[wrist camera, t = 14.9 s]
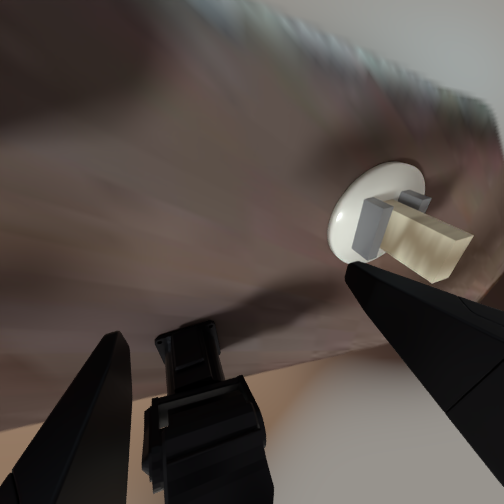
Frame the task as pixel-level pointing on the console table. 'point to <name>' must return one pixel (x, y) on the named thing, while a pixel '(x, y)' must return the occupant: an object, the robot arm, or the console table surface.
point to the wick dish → (373, 209)
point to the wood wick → (423, 242)
